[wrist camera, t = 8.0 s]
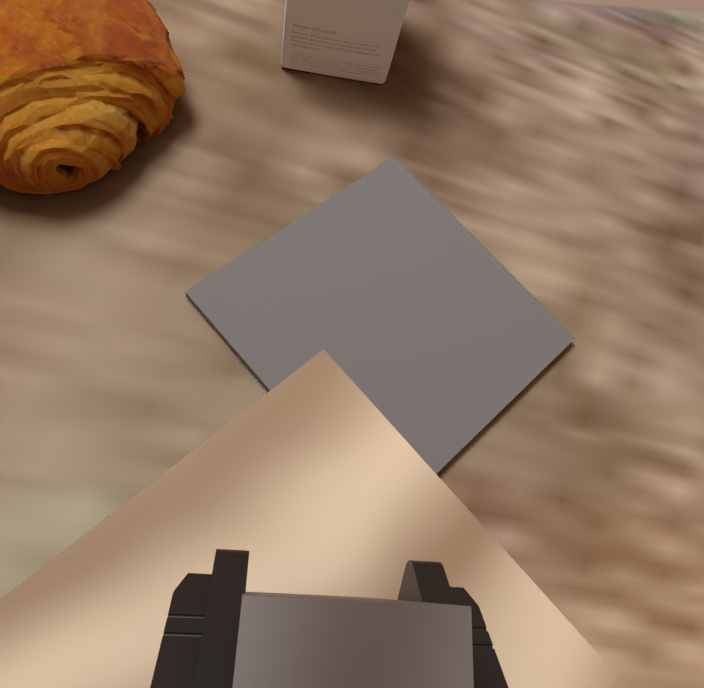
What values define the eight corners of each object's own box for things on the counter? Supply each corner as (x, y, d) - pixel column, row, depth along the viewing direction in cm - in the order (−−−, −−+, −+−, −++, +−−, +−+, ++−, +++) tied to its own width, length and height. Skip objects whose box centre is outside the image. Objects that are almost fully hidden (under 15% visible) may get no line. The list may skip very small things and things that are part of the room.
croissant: (-36, 243, 34) (-113, 171, 26) (-96, 12, 36) (-183, -115, 28) (213, 187, 37) (210, 110, 30) (144, -18, 40) (125, -137, 32)
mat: (186, 295, 32) (185, 291, 32) (391, 161, 38) (393, 156, 38) (382, 524, 29) (385, 523, 29) (571, 341, 35) (575, 338, 35)
